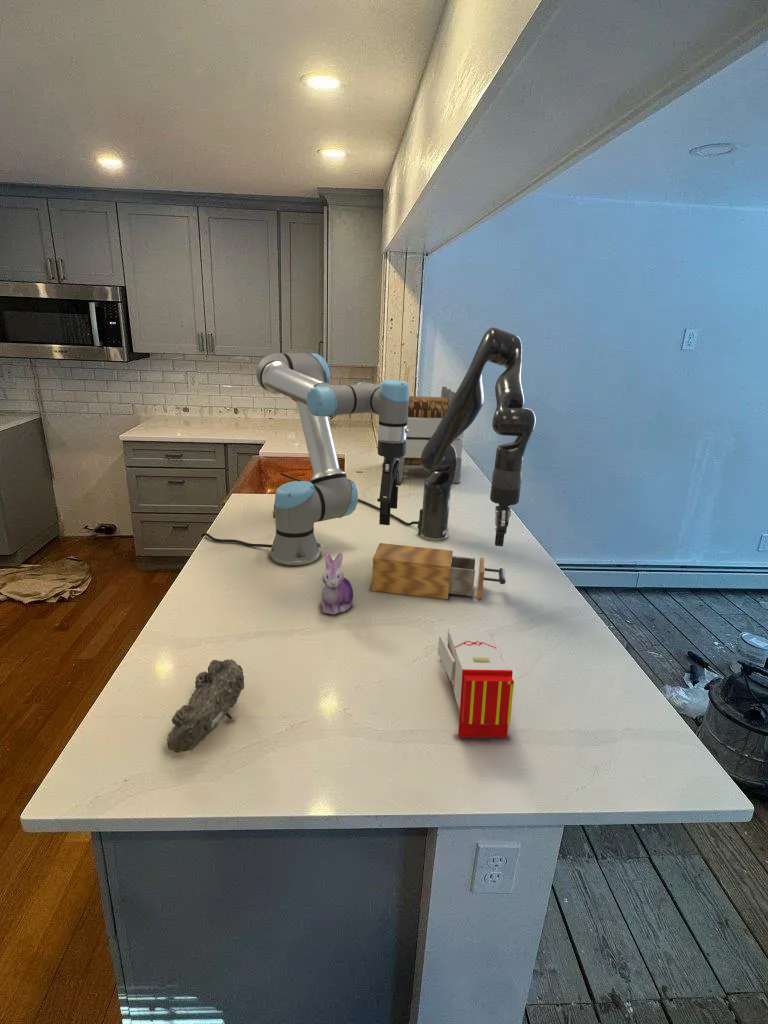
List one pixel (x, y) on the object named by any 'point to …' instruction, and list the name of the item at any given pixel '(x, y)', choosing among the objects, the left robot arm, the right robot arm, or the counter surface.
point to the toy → (478, 682)
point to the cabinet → (412, 570)
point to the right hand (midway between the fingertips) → (498, 545)
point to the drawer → (469, 576)
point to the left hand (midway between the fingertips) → (388, 516)
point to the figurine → (335, 587)
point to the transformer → (427, 429)
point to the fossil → (206, 705)
